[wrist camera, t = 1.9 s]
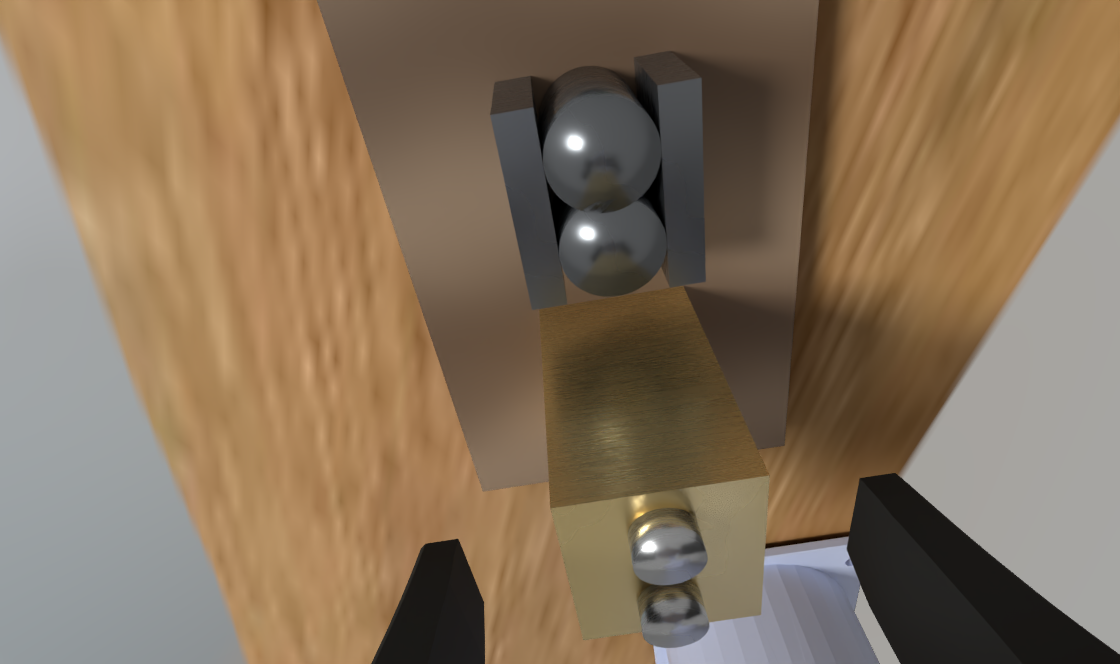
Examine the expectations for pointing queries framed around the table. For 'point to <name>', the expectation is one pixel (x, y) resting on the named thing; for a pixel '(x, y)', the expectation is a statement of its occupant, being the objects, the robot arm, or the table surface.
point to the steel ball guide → (605, 178)
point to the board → (482, 203)
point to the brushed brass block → (650, 470)
